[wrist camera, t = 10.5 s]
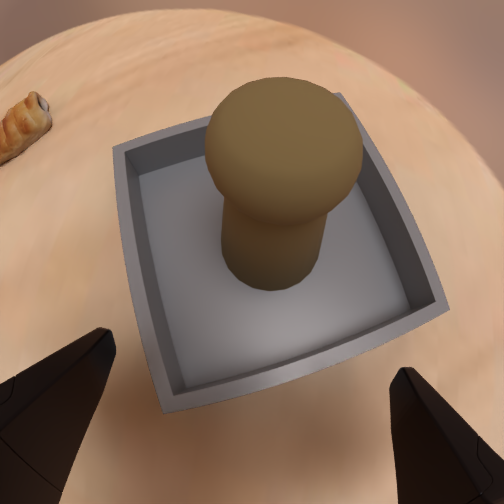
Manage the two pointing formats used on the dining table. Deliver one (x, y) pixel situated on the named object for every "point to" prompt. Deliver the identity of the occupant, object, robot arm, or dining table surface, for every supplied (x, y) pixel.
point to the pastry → (23, 126)
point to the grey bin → (254, 300)
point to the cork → (280, 175)
